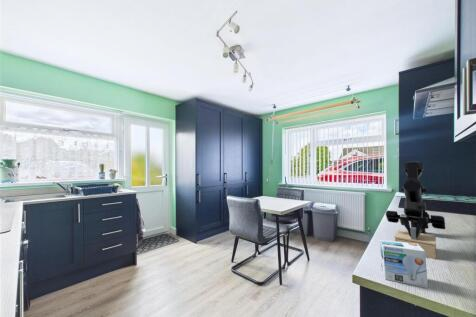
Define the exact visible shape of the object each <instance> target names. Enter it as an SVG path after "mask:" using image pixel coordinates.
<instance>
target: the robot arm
mask: <svg viewBox="0 0 476 317" xmlns="http://www.w3.org/2000/svg"><path fill="white" fill-rule="evenodd" d="M402 168H403V169H402V170H403V171H405V174H406V176H407V179H405V180H404V184H403V185H402V187H401V190H402V191H401V192H402V193H404V197H405V201H403V213H398V211H395V210H386V212H385V217H386V220H387V222H388V223H395V224H397V223H399V221H400V225H401V226H404V227H405V229H406V231H408V233H409V236H410V237H411V232H410V228H411V227H416V238H418V236H419V235H420V233H422V234H428V232H427V231H426V230H427V229H429V224H431V227H432V228H434V229H439V230H446V221H445V220H446V219H445V217H444V216H443V215H434V214H429V213H428V211H427V206H426V205H427V204H426V202H425V201H423V194H425V193H426V192H427V188H426V187H425V186H424V185H422V184H423V183H422V181H421V180H420V177H421V176H422V175H423V171H424V163H423V162H420V161H407V162H405V163H402Z"/></svg>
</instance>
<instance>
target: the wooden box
mask: <svg viewBox="0 0 476 317" xmlns="http://www.w3.org/2000/svg"><path fill="white" fill-rule="evenodd" d="M394 239H395V240H394V241H397V242H406V243H415V244H418V245H419V246H420V247H421V248H422V249H423V250H424V251H425V254H426V258H429V259H434V260H436V259H437V242H435V245H431V244H426V243H420V242H415V241H409V240H404V239H398V238H395V237H394Z"/></svg>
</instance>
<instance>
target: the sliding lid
mask: <svg viewBox="0 0 476 317" xmlns="http://www.w3.org/2000/svg"><path fill="white" fill-rule="evenodd" d="M410 232H411V237H410V236H409V233H408V231H407V230H401V229H398V231H397V232H396V233H395V235H394V239H395V238H398V239H404V240H409V241H415V242H420V243H426V244H431V245H435V242H436V241H437V236H436V235H434V234H428V233H427V234H422V233H420V235H419V236H418V238H416V227H411V226H410ZM436 243H437V242H436Z"/></svg>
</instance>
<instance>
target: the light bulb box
mask: <svg viewBox="0 0 476 317" xmlns="http://www.w3.org/2000/svg"><path fill="white" fill-rule="evenodd" d="M379 246H380V247H379V248H380V261H381V262H380V264H381V272H382V274H383V277H384V279H385V280H386V281H392V282H398V283H402V284H407V285H411V286H416V287H422V288H426V289H428V288H429V286H428V284H429V283H428V272H427V271H428V269H427V259H426V258H427V257H426V254H425V251H424V250H423V249H422V248H421V247H420V246H419V245H418V244H415V243H406V242H397V241H395V240H387V239H379Z"/></svg>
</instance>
